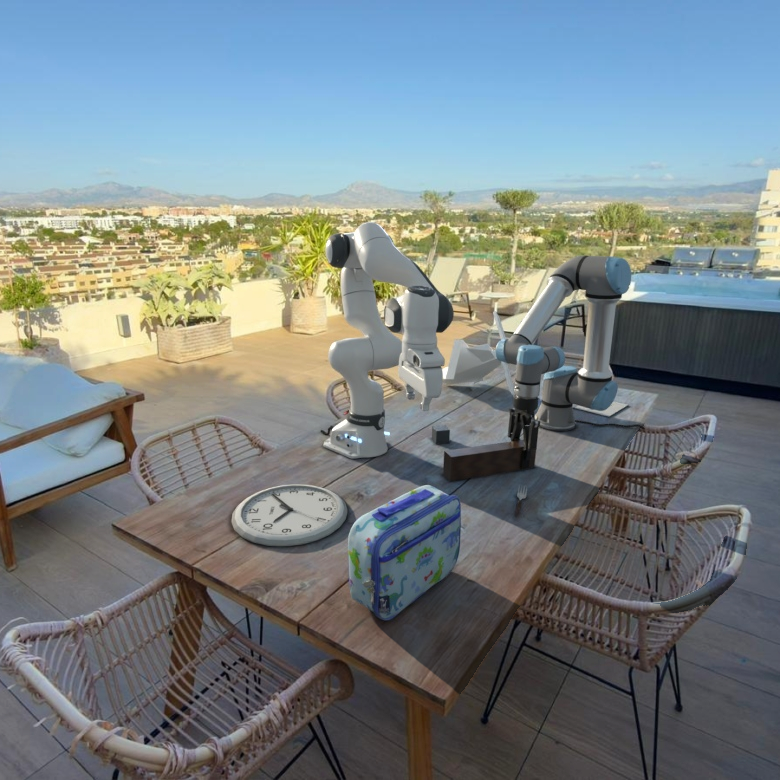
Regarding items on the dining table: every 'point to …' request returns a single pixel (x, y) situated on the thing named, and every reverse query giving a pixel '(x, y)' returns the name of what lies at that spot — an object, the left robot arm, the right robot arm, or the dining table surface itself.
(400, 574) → the lunch box
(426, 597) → the dining table surface
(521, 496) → the fork
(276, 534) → the wall clock
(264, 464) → the dining table surface
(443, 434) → the slate block
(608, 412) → the invitation card
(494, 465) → the plank
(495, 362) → the white plastic object
